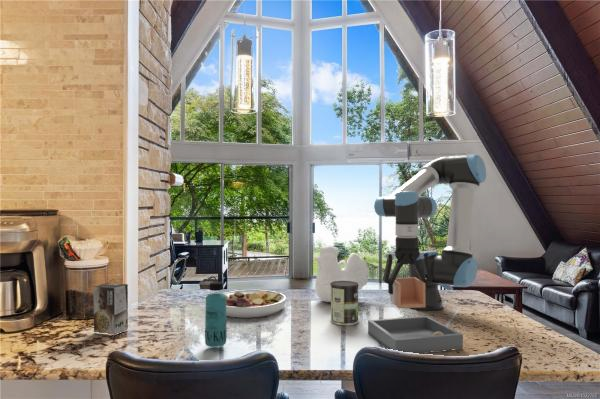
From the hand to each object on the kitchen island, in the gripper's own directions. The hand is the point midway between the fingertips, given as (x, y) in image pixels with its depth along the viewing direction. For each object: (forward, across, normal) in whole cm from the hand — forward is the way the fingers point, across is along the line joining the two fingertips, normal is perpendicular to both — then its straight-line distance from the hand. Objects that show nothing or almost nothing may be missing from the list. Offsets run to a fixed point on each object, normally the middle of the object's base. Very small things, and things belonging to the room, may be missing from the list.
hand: (407, 303), depth 137 cm
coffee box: (+9, -100, +7) cm, 101 cm away
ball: (+7, +5, -14) cm, 16 cm away
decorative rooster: (+10, -14, +42) cm, 46 cm away
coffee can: (+10, -19, +14) cm, 26 cm away
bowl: (+10, -55, +34) cm, 65 cm away
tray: (+10, -1, -9) cm, 13 cm away
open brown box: (0, 0, 0) cm, 0 cm away
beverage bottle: (+9, -63, -10) cm, 64 cm away
